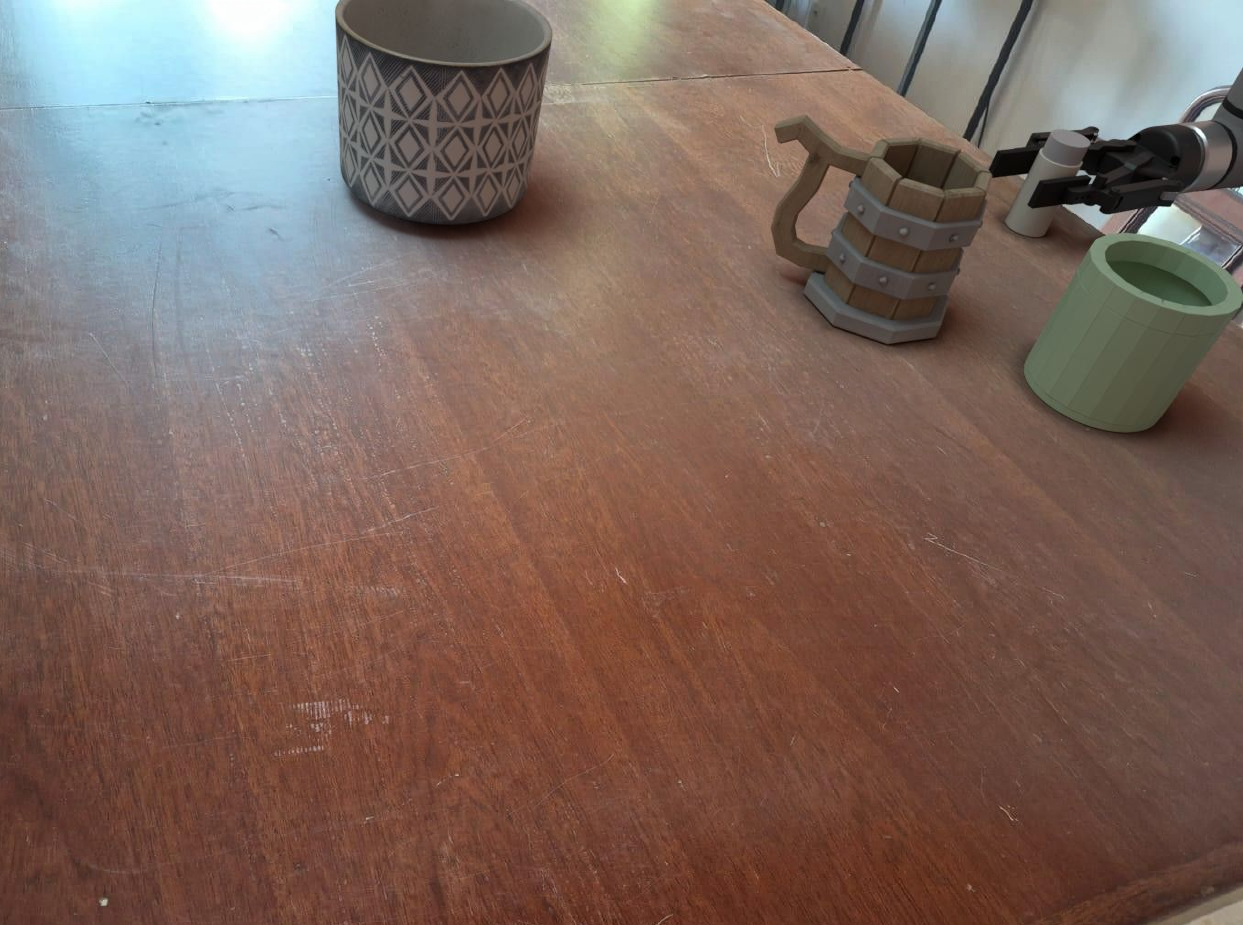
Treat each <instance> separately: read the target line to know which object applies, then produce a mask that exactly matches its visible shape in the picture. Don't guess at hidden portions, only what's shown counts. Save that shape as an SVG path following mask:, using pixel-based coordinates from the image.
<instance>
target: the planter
mask: <svg viewBox="0 0 1243 925" xmlns="http://www.w3.org/2000/svg"><path fill="white" fill-rule="evenodd" d="M334 18H335V22H334V23H335V24H334V25H335V48H336V49H335V50H336V52H335V53H336V80H337V107H338V109H337V110H338V114H337V115H338V135H339V136H338V140H339V141H338V142H339V167H340V174H341V177H342V179H343V181H344V183H345V185H346V187H347V188H348V189H349V190H350V192H352V193H353V195H354V196H356V197H357V198H358V199H359V200H361V202H364V203H365V204H367V206H370V207H372V208H374V209H376V210H377V211H380V212H383V213H385V214H387V215H390V216H392V217H395V218H400V219H403V220H407V221H413V222H417V223H421V224H422V223H423V224H432V225H467V224H473V223H479V222H483V221H487V220H491V219H494V218H496V217H499V216H501V215H504V214H505V213H507V212H509V211H511V210H512V209H514V208H515V207H516V206H517V205H518V204H519V203H520V202H521V201H522V200H523V198H524V197H525V195H526V193H527V190H528V188H529V183H530V176H531V169H532V164H533V159H534V152H535V146H536V141H537V134H538V127H539V121H540V116H541V108H542V102H543V97H544V89H545V83H546V79H547V78H546V77H547V73H548V72H547V71H548V65H549V60H550V53H551V48H552V41H553V28H552V25H551V24H550V22H549V20H548V19H547V18H546V17H545V16H544V14H542V13H541V12H540V11H539V10H538V9H536V8H535V7H533V6H532V5H530V4H529V3H527V2H525V1H524V0H338V2H337V3H336V5H335V9H334Z"/></svg>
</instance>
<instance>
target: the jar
mask: <svg viewBox="0 0 1243 925" xmlns="http://www.w3.org/2000/svg"><path fill="white" fill-rule="evenodd" d="M1242 304H1243V291H1242V287H1241V285H1240V284H1239V283H1238V282H1237V280H1236V279H1235V278H1234V277H1233V276H1232V274H1230V272H1229V271H1227V270H1226V269H1225V268H1223V267H1222V266H1220V265H1219V264H1218V263H1217V262H1215V261H1214V260H1212V259H1210V258H1209V257H1207V256H1205V255H1203V254H1201V253H1199V252H1197V251H1195V250H1194V249H1191V248H1189V247H1187V246H1184V245H1181V244H1179V243H1176V242H1173V241H1172V240H1167V239H1162V238H1159V237H1155V236H1151V235H1147V234H1141V233H1140V234H1139V233H1132V232H1131V233H1130V232H1119V233H1109V234H1106V235H1103V236H1101V237H1098V238H1096V239H1095V240H1094V241H1093V243H1092V244H1091V245H1090V246H1089V248H1088V250H1087V252H1086V254H1085V255H1084V257H1083V259H1082V260H1081V263H1080V264H1079V266H1078V268H1077V269H1076V271H1075V273H1074V275H1073V276H1072V278H1071V280H1070V281H1069V283H1068V285H1067V287H1066V289H1065V291H1064V292H1063V294H1062V296H1061V298H1060V299H1059V300H1058V303H1057V304H1056V306H1055V308H1054V309H1053V312H1051V315H1050V317H1049V319H1048V320H1047V321H1046V324H1045V326H1044V327H1043V328H1042V331H1041V333H1040V335H1039V336H1038V338H1037V340H1036V342H1035V343H1034V345H1033V347H1032V348H1031V350H1030V351H1029V353H1028V355H1027V357H1026V360H1025V362H1024V364H1023V374H1024V377H1025V381H1026V382H1027V384H1028V386H1029V388H1030V389H1031V390H1032V391H1033V393H1034V394H1035V395H1036V396H1037V397H1038V398H1039V399H1040V400H1041V401H1042V402H1044V403H1045V404H1046V405H1047V406H1049V407H1050V408H1052V409H1053V410H1055V411H1056V412H1058V413H1059V414H1060V415H1063V416H1064V417H1067V418H1069V419H1071V420H1072V421H1075V422H1077V423H1080V424H1083V425H1085V426H1088V427H1090V428H1094V429H1098V430H1102V431H1106V432H1107V431H1108V432H1112V433H1123V434H1124V433H1138V432H1141V431H1142V432H1143V431H1146V430H1148V429H1149V428H1152V427H1153V426H1154V425H1156V423H1157V422H1158V421H1159V420H1160V418H1163V416H1164V414H1165V413H1166V411H1167V410H1168V409H1169V407H1170V406H1171V404H1172V403H1173V402H1174V400H1175V399H1176V398H1177V396H1178V395H1179V393H1180V392H1181V390H1182V389H1183V388H1184V387H1185V385H1186V383H1187V382H1188V381H1189V379H1190V378H1191V377H1192V376H1193V374H1194V373H1195V371H1196V370H1197V368H1198V367H1199V366H1200V364H1201V363H1202V361H1203V360H1204V358H1206V356H1207V355H1208V354H1209V352H1210V351H1211V349H1212V348H1213V347H1214V345H1215V343H1216V342H1217V341H1218V340H1219V338H1220V336H1221V335H1222V333H1223V332H1224V331H1225V329H1226V328H1227V327H1228V325H1229V324H1230V323H1231V321H1232V320H1233V319H1234V317H1235V316H1236V314H1237V313H1238V311H1239V310H1240V309H1241V307H1242Z"/></svg>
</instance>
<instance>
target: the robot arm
mask: <svg viewBox="0 0 1243 925" xmlns="http://www.w3.org/2000/svg"><path fill="white" fill-rule="evenodd" d="M1070 131H1073V132H1076V133H1079V134H1081V135H1083V136H1084V137H1086V138H1087V139H1088V140H1089V141H1090V146H1089V148H1088V150H1087V152H1086V154H1085V156H1084V158H1083V160H1082V162H1083V164H1082V166H1081V168H1080V170H1079V171H1082V172H1083V171H1084V172H1085V173H1086V174H1080V175H1076V176H1072V177H1063V178H1055V179H1047V180H1040V181H1039V183H1038V185H1037V187H1036V189H1035V191H1034V193H1033V194H1032V196H1031V198H1030V200H1029V202H1028V204H1027V205H1028V206H1029V207H1030V208H1032V209H1034V208H1042V207H1049V206H1057V205H1060V206H1064V205H1066V206H1075V205H1082V204H1083V205H1084V206H1088V207H1094V206H1098V207H1099V209H1098V211H1099V212H1100V213H1101V214H1103V215H1107V216H1108V215H1114V214H1119V213H1125V212H1130V211H1131V212H1132V211H1136V210H1140V209H1146V208H1147V209H1148V208H1151V207H1161V208H1170V207H1172V205H1173V204H1174V202H1175V200H1176V199H1177V197H1178V196H1179V195H1182V194H1188V193H1194V192H1195V193H1197V192H1206V191H1207V192H1208V191H1215V190H1221V189H1222V190H1223V189H1240V188H1243V67H1242V68H1241V69H1240V71H1239V72H1238V74H1237V76H1236V78H1235V79H1234V82H1233V83H1232V84H1231V86H1230V88H1229V90H1228V91H1227V93H1226V95H1225V97H1224V98H1223V100H1222V102H1221V103H1220V105H1219V107H1218V108H1217V109H1216V111H1215V113H1214V114H1213V116H1212V118H1211V119H1208V120H1201V121H1200V120H1199V121H1189V122H1180V123H1179V122H1178V123H1171V124H1162V125H1151V126H1148V127H1145V128H1143V129H1140V130H1139V131H1138V132H1136V133H1135V134H1133V135H1132V136H1130V137H1128V138H1127V139H1120V138H1119V139H1118V138H1111V139H1108V140H1105V139H1103V138H1101V137H1099V135H1100V134H1099V132H1100V129H1099V127H1097V126H1093V125H1092V126H1091V125H1089V126H1087V127H1085V128H1082V129H1073V130H1072V129H1071V130H1070ZM1050 133H1051V131H1041V132H1032V133H1031V134H1030V136H1029V138H1028V140H1027V142H1026V144H1025V146H1021V147H1014V148H1008V149H1007V148H1006V149H997V150H996V152H995V154H994V157H993V158H992V161H991V163H990V165H989V167H988V170H989V171H990V172H991V174H992V179H996V178H1005V177H1013V176H1021V175H1022V176H1023V175H1028V173H1029V171H1030V169H1031V167H1032V165H1033V163H1034V161H1035V159H1036V157H1037V155H1038V153H1039V151H1040V149H1041V148H1043V147H1044V145H1045V143H1046V141H1047V139H1048V137H1049V135H1050ZM1091 176H1093V177H1094V176H1095V177H1094V179H1093V178H1092V177H1091ZM1092 179H1093V181H1092V182H1091V180H1092Z"/></svg>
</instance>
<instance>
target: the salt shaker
mask: <svg viewBox="0 0 1243 925" xmlns="http://www.w3.org/2000/svg"><path fill="white" fill-rule="evenodd" d="M1050 132H1051V133H1050V135H1049V137H1048V139H1047V141H1046V143H1045V145H1044V147H1043V148H1041V149H1040V151H1039V153H1038V155H1037V157H1036V159H1035V161H1034V163H1033V165H1032V167H1031V169H1030V171H1029V173H1028V174H1026V177H1025V178H1024V181H1023V183H1022V185H1021V187H1020V189H1019V191H1018V193H1017V195H1016V197H1015V200H1014V201H1013V203H1012V205H1011V207H1010V209H1009V211H1008V213H1007V215H1006V217H1005V219H1004V222H1005V225H1006V227H1008V229H1010V230H1011V231H1013V232H1015V233H1017V234H1019V235H1021V236H1025V237H1029V238H1030V237H1031V238H1040V237H1041V238H1042V237H1043V236H1045V235H1046V234H1047V231H1048V230H1049V228H1050V226H1051V224H1052V223H1053V220H1054V218H1055V217H1056V215H1057V213H1058V211H1059V209H1060V207H1061V205H1057V206H1049V207H1042V208H1034V209H1032V208H1030V207H1029V206H1028V205H1027V204H1028V202H1029V200H1030V198H1031V196H1032V194H1033V193H1034V191H1035V189H1036V187H1037V185H1038V183H1039V181H1040V180H1047V179H1055V178H1063V177H1072V176H1078V173H1079V171H1081V170H1080V168H1081V166H1082V164H1083V162H1082V160H1083V158H1084V156H1085V154H1086V152H1087V150H1088V148H1089V146H1090V141H1089V140H1088V139H1087V138H1086V137H1084V136H1083V135H1081V134H1079V133H1076V132H1073V131H1070V130H1069V129H1062V128H1056V129H1053V130H1051V131H1050Z"/></svg>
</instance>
